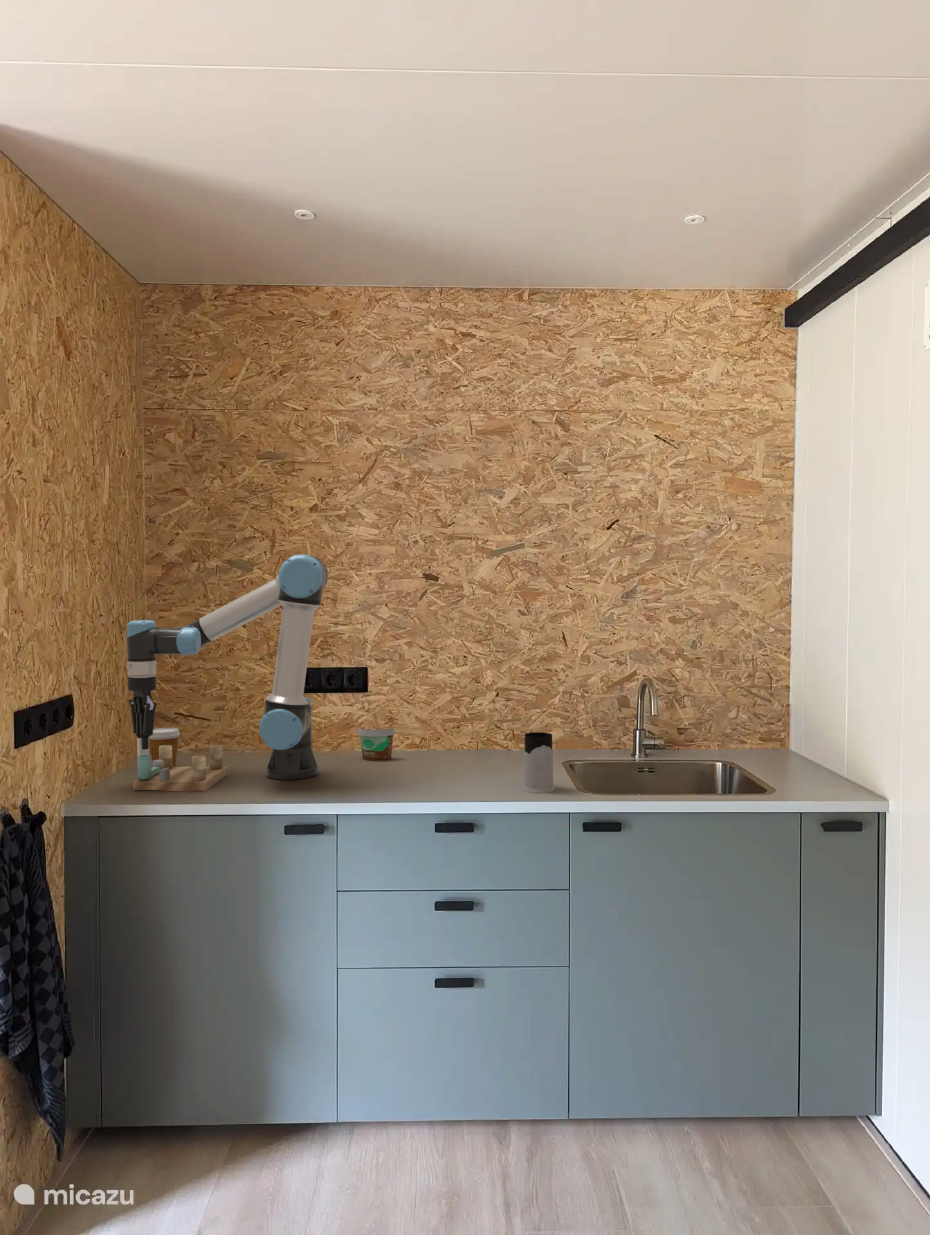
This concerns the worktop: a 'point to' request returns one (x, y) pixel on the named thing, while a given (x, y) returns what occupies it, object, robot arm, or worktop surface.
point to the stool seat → (187, 772)
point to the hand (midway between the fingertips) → (143, 760)
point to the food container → (376, 743)
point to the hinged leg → (148, 767)
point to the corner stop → (164, 774)
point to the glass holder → (538, 763)
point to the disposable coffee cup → (164, 742)
